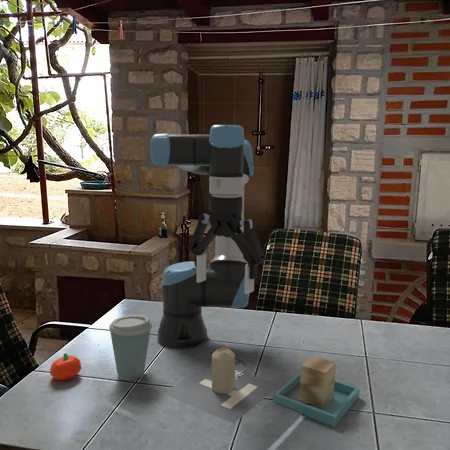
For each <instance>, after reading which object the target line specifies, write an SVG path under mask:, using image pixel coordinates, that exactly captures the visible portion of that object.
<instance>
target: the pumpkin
mask: <svg viewBox="0 0 450 450" xmlns="http://www.w3.org/2000/svg"><path fill="white" fill-rule="evenodd" d="M81 370H82V364H81V360H80V359H79V358H78V357H77V356H75V355H68V353H67V352H65V353H63V356H61V357H59V358H58V359H56V360H54V361H53V362H52V363H51V365H50V370H49V374H50V376H51V377H52V378H53V379H55V380H58V381H67V380H70V379H72V378H74V377H75V376H78V374H79V373H80V371H81Z"/></svg>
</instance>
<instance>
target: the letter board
mask: <svg viewBox="0 0 450 450" xmlns="http://www.w3.org/2000/svg"><path fill="white" fill-rule="evenodd" d="M244 373H245V374H244V375H243V376H241V377H239V378H238V379H236V380H235V386H234V390H233V391H232V392H231V393H228V394H219V393H216V392H214V391H213V390H212V363H210V364H209V365H207V366H205V367H204V368H202V369H201V370H199V371H197V372H196V373H193V374H192V375H190V377H188V378H186V379H185V380H183V381H182V382H180V383H178V384H176V385H175V386H173V387H172V388H170V389H169V390H167V391H166V392H164V393H163V394H164V395H167V396H169V397H171V398H173V399H175V400H178V401H180V402H183V403H184V404H187V405H189V406H192V407H195V408H197V409H199V410H201V411H203V412H205V413H208V414H211V415H213V416H215V417H218V418H220V419H222V420H224V421H226V422H230V423H232V424H235V423H236V422H238V421H239V420H240V419H241V418H243V416H244V415H246V414H247V413H248V412H249V411H250V410H252V409H253V408H254V407H255V406H256V405H257V404H258V403H260V402H261V401H262V400H264V399H265V398H266V397H267V396H268V395H269V394H270V393H272V392H273V391H274V390H275V389H277V387H279V386H280V384H279V383H275V382H272V381H269V380H267V379H264V378H261V377H259V376H255V375H252V374H249V373H247V372H244Z"/></svg>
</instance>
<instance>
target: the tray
mask: <svg viewBox="0 0 450 450" xmlns="http://www.w3.org/2000/svg"><path fill="white" fill-rule="evenodd" d="M300 373H301V370H299V372H298V373H296V374H295V376H293V377H291V379H290V380H288V381H287V382H286V383H285V384H284V385H283V386H282V387H280V388H279V389H278V390H277V391H276V392H275V393H274V394H273V395H272V397H273V398H272V402H273V403H277V404H278V405H281V406H284V407H287V408H289V409H292V410H294V411H298V412H300V413H301V414H300V416H301V417H305V418H307V419H309V420H312V421H315V422H318V423H320V424H323V425H326V426H328V427H331V428H334V429H335V428H336V427H337V426H338V425H339V423H340V422H341V421H342V420H343V419H344V417H345V416H346V414H348V412H349V411H350V409H352V407H353V406H354V405H355V403H356V402H358V400H359V398H360V389H361V388H360V387H358V386H355V385H352V384H348V383H346V382H342V381H339V380H336V379H335V384H334V398H333V400H332V401H331V402H330V403H329V404H328V405H327V406H326V407H325V408H324V410H322V409H320V408H317V407H314V406H311V404H310V405H308V404H306V403H303V402H300V401H297V400H295V399H291V398H289V397H287V396H285V395H286V394H288V393H289V392H290V391H291V390H292V389H293V388H294V387H295V386H297V384H300Z"/></svg>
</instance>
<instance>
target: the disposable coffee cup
mask: <svg viewBox="0 0 450 450" xmlns="http://www.w3.org/2000/svg"><path fill="white" fill-rule="evenodd" d="M152 325H153V324H152V323H151V320H150V318H149V317H148V316H146V315H141V314H138V315H137V314H134V315H133V314H131V315H126V316H121V317H118V318H115V319H114V320H113V321H112V322H111V323H110V324H109V326H108V327H109V328H108V329H109V331H110V332H109V333H110V339H111V343H112V350H113V356H114V362H115V369H116V373H117V376H118V377H119V379H121V380H124V381H133V380H138V379H139V378H141V377H143V375H144V372H145V370H146V369H145V368H146V361H147V354H148V347H149V341H150V336H151V335H150V334H151V329H152V328H153V326H152Z"/></svg>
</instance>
